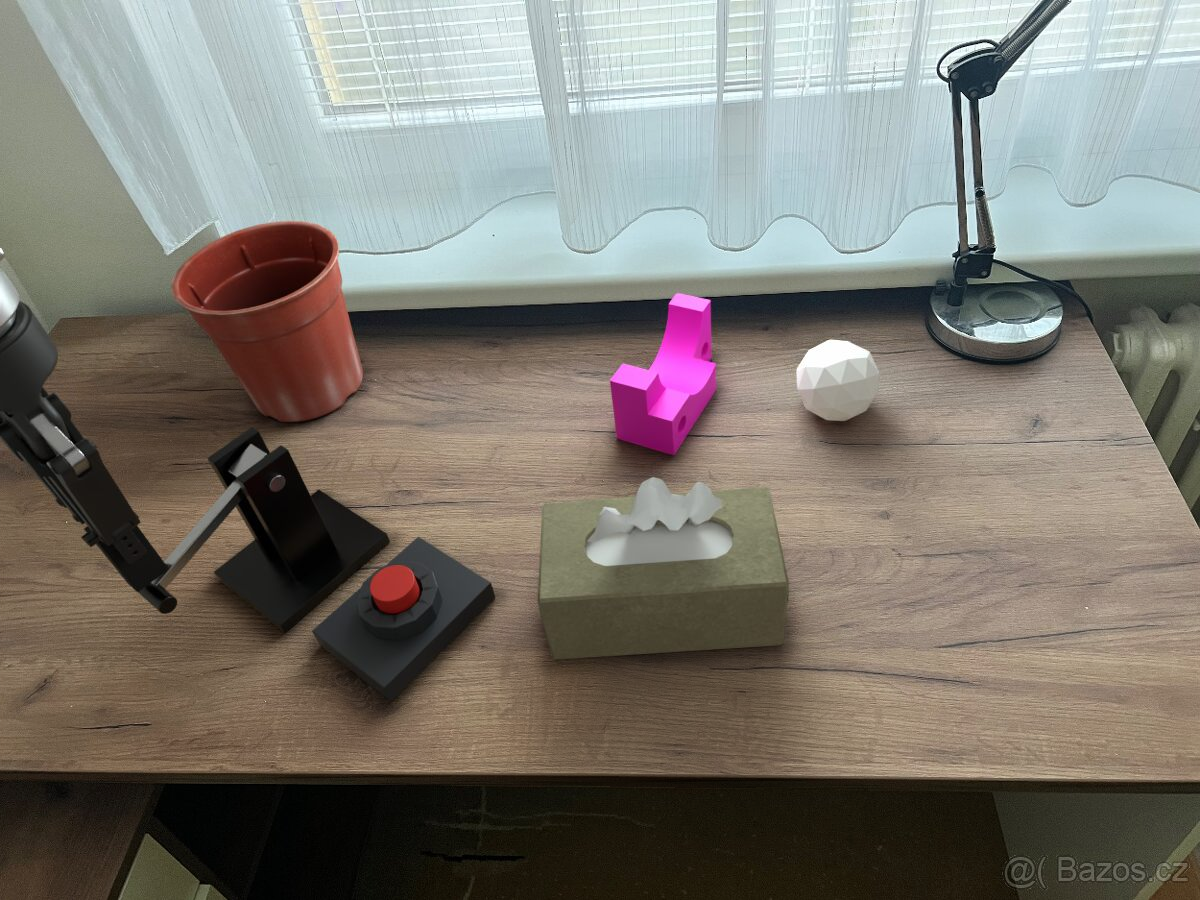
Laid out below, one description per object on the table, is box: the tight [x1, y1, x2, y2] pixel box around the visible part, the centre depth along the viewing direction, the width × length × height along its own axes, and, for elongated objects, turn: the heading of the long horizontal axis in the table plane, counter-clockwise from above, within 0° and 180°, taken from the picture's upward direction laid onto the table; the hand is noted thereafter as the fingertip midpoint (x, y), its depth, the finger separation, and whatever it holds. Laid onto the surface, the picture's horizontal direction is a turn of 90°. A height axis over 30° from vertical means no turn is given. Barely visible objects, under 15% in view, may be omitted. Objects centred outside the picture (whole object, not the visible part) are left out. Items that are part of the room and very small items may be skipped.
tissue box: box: [537, 476, 790, 660], centre depth 67 cm, size 19×10×16 cm, turn 90°
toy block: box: [609, 292, 717, 456], centre depth 87 cm, size 15×6×8 cm, turn 151°
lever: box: [137, 444, 267, 615], centre depth 69 cm, size 14×5×2 cm, turn 140°
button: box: [370, 565, 419, 614], centre depth 70 cm, size 4×4×2 cm
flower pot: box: [170, 220, 364, 423], centre depth 92 cm, size 16×16×16 cm
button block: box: [311, 536, 496, 702], centre depth 72 cm, size 12×9×4 cm
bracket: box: [207, 426, 391, 634], centre depth 75 cm, size 12×10×14 cm
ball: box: [795, 339, 880, 422], centre depth 84 cm, size 8×8×8 cm
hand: (148, 576), depth 67 cm, fingers closed
